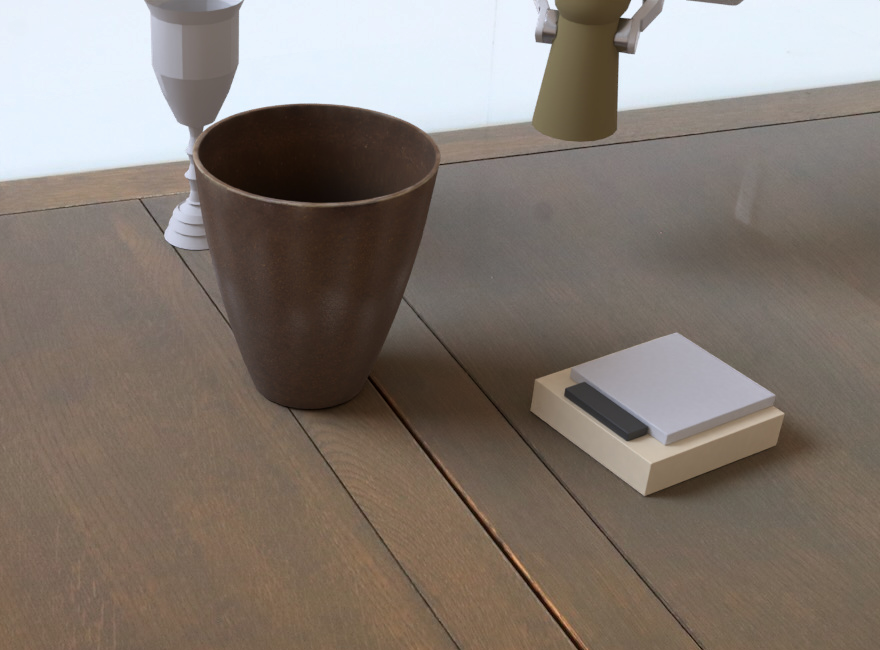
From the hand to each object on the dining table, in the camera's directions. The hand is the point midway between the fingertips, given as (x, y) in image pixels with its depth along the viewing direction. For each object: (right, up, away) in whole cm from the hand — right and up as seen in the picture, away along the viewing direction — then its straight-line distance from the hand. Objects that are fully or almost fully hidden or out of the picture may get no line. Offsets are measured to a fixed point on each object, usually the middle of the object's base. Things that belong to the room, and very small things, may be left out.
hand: (585, 45), depth 108 cm
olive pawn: (0, -4, +4) cm, 6 cm away
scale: (+3, -27, -7) cm, 28 cm away
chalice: (-27, -10, +13) cm, 32 cm away
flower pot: (-19, -24, -3) cm, 31 cm away
